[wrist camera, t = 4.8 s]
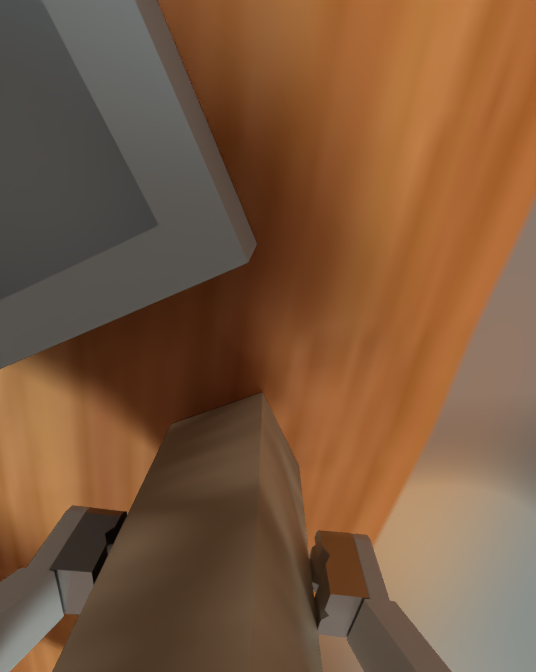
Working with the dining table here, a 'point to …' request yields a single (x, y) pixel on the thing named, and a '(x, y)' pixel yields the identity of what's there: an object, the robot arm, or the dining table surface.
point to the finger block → (207, 559)
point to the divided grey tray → (102, 172)
